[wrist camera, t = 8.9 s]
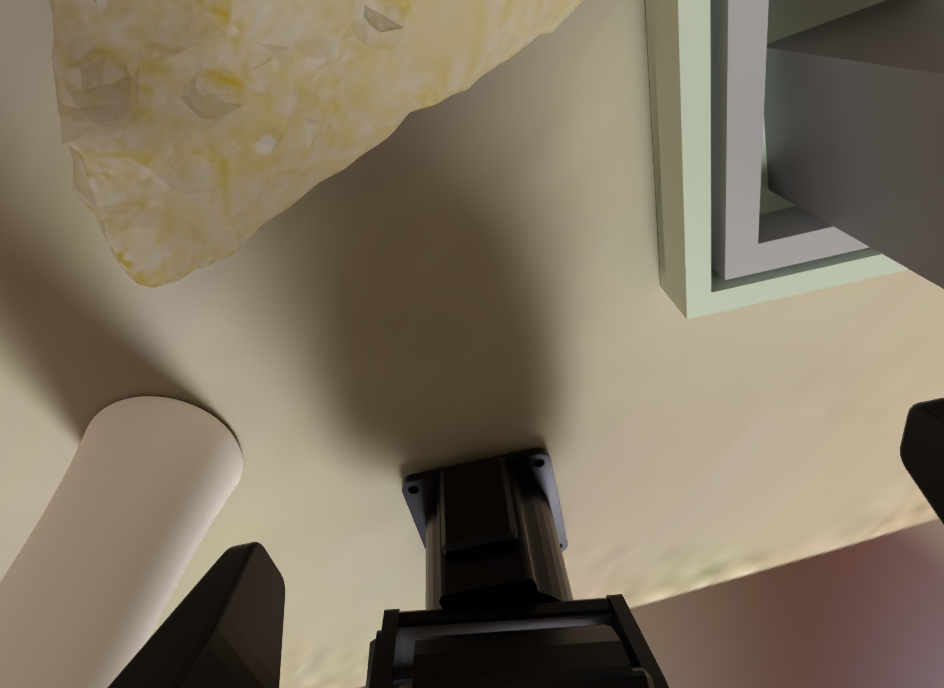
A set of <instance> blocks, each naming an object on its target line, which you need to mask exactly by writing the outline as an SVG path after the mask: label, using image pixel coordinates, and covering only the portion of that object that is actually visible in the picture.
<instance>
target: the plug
mask: <svg viewBox="0 0 944 688" xmlns="http://www.w3.org/2000/svg"><path fill="white" fill-rule="evenodd" d="M764 125H765V141H766V157H767V174H768V190H770V191H772V192H774V193H775V194H777V195H779V196H781V197H782V198H784V199H786V200H788V201H789V202H791V203H793V204H795V205H797V206H798V207H800V208H802V209H804V210H805V211H807V212H809V213H811V214H812V215H814V216H816V217H818V218H820V219H821V220H823V221H825V222H827V223H828V224H830V225H832V226H834V227H835V228H837V229H839V230H841V231H842V232H844V233H846V234H848V235H850V236H851V237H853V238H855V239H857V240H858V241H860V242H862V243H864V244H865V245H867V246H869V247H871V248H873V249H874V250H876V251H878V252H880V253H881V254H883V255H885V256H887V257H888V258H890V259H892V260H894V261H896V262H897V263H899V264H901V265H903V266H904V267H906V268H908V269H910V270H911V271H913V272H915V273H917V274H918V275H920V276H922V277H924V278H926V279H927V280H929V281H931V282H933V283H934V284H936V285H938V286H940V287H941V288H943V289H944V0H886V1H883V2H881V3H878V4H875V5H873V6H870V7H867V8H864V9H862V10H859V11H856V12H853V13H851V14H848V15H845V16H842V17H840V18H837V19H834V20H832V21H829V22H826V23H823V24H821V25H818V26H815V27H812V28H810V29H807V30H804V31H801V32H799V33H796V34H793V35H790V36H788V37H785V38H782V39H780V40H777V41H774V42H771V43H769V44H767V51H766V74H765V97H764Z"/></svg>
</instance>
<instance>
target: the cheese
mask: <svg viewBox="0 0 944 688" xmlns="http://www.w3.org/2000/svg"><path fill="white" fill-rule="evenodd" d="M50 1H51V7H52V12H53V25H54V44H53V56H52V57H53V67H54V76H55V85H56V93H57V102H58V111H59V114H60V117H61V131H62V143H63V144H66V145H68V146H69V147H70V151H71V154H72V158H73V167H74V182H73V190H74V191H75V192H76V193H77V194H78V196H79V197H80V198H81V199H82V200H83V201H84V203H85V204H86V205H87V206H88V207H89V209H90V210H91V211H92V212H93V213H94V214H95V216H96V217H97V218H98V219H99V223H100V226H101V229H102V231H103V233H104V235H105V237H106V239H107V241H108V243H109V245H110V247H111V250H112V252H113V254H114V256H115V258H116V259H117V261H118V262H119V264H120V265H121V266H122V268H123V269H124V270H125V272H126V273H127V274H128V275H129V276H130V277H132V278H133V279H134V280H135V281H136V282H137V283H138V284H141V285H143V286H149V287H158V286H161V285H165V284H168V283H171V282H175V281H178V280H180V279H182V278H183V277H184V276H186V275H187V274H189V273H190V272H192V271H193V270H195V269H198V268H201V267H204V266H206V265H209V264H211V263H213V262H216V261H218V260H220V259H223V258H225V257H227V256H230V255H231V254H233V253H234V252H235V251H236V250H237V249H238V248H239V247H241V246H242V245H243V244H244V243H245V242H246V241H247V240H248V239H249V238H251V237H252V236H253V235H254V234H255V232H256V231H257V230H258V229H259V228H260V227H261V226H262V225H263V224H264V223H265V222H267V221H269V220H271V219H272V218H274V217H275V216H277V215H279V214H280V213H282V212H283V211H285V210H287V209H288V208H289V207H290V206H292V205H293V204H294V203H295V202H297V201H298V200H299V199H300V198H302V197H303V196H304V195H305V194H306V193H307V192H309V191H310V190H311V189H312V188H313V187H314V186H315V185H316V184H318V183H320V182H321V181H323V180H325V179H326V178H328V177H330V176H332V175H334V174H336V173H338V172H340V171H342V170H344V169H345V168H346V167H348V166H349V165H350V164H351V163H353V162H354V161H355V160H356V159H358V158H359V157H360V156H361V155H363V154H364V153H366V152H367V151H369V150H371V149H372V148H374V147H375V146H377V145H378V144H380V143H382V142H383V141H384V140H385V139H386V138H387V137H389V136H390V135H391V134H392V133H393V132H394V131H395V130H396V129H397V127H398V126H399V125H400V124H401V122H402V121H403V120H404V119H405V117H406V116H407V115H408V114H409V113H410V112H413V111H415V110H418V109H421V108H425V107H430V106H434V105H436V104H438V103H440V102H441V101H443V100H444V99H446V98H447V97H449V96H452V95H454V94H457V93H460V92H462V91H465V90H467V89H469V88H470V87H471V86H472V85H473V84H474V83H475V82H476V81H477V80H478V79H479V78H480V77H482V76H483V75H485V74H486V73H487V72H489V71H490V70H492V69H493V68H495V67H496V66H498V65H500V64H501V63H503V62H504V61H506V60H508V59H509V58H511V57H513V56H514V55H515V54H516V53H518V52H519V51H520V50H521V49H522V48H524V47H525V46H526V45H527V44H529V43H530V42H531V41H532V40H533V39H535V38H536V37H537V36H538V35H540V34H546V33H552V32H553V31H554V30H555V29H556V28H557V27H558V26H559V25H560V24H561V23H562V22H563V21H564V20H565V19H566V18H567V17H568V16H569V15H570V13H571V12H572V11H573V10H574V9H575V8H576V7H577V6H578V5H579V4H580V3H581V2H582V1H583V0H50Z"/></svg>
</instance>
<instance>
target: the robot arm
mask: <svg viewBox="0 0 944 688" xmlns="http://www.w3.org/2000/svg"><path fill="white" fill-rule="evenodd" d="M900 456H901V459H902V462H903V464H904V466H905V468H906V470H907V471H908V473H909V474H910V476H911V477H912V479H913V480H914V481H915V483H916V484H917V486H918V487H919V489H920V490H921V492H922V493H923V495H924V496H925V498H926V499H927V501H928V502H929V504H930V505H931V507H932V508H933V510H934V511H935V513H936V514H937V516H938V517H939V519H940V520H941V522H942V523H943V524H944V398H939V399H934V400H930V401H925V402H920V403H916V404H914V405H913V406H912V407H911V408H910V409H909V412H908V415H907V419H906V424H905V428H904V432H903V437H902V441H901V445H900ZM536 459H541V460H539V461H534V460H536ZM410 486H417V487H410ZM402 492H403V495H404V497H405V500H406V502H407V505H408V507H409V510H410V512H411V515H412V517H413V520H414V522H415V524H416V527H417V529H418V532H419V534H420V537H421V539H422V542H423V544H424V547H425V549H426V610H416V611H401V612H400V609H391V610H384V616H383V624H382V630H380V631H377V635H376V639H374V640H373V641H372V642H370V649H369V660H368V671H367V681H366V687H365V688H669V687H668V684H667V682H666V680H665V678H664V676H663V674H662V672H661V670H660V668H659V666H658V664H657V662H656V660H655V658H654V656H653V654H652V652H651V650H650V648H649V646H648V644H647V642H646V641H645V639H644V637H643V635H642V633H641V631H640V629H639V627H638V625H637V623H636V621H635V619H634V617H633V615H632V613H631V611H630V609H629V607H628V605H627V603H626V601H625V599H624V597H623V595H622V594H617V595H607V596H606V598H596V599H581V600H573V597H572V593H571V588H570V584H569V580H568V576H567V572H566V568H565V564H564V559H563V555H562V552H563V551H564V550H566V548H567V545H568V544H567V539H566V534H565V529H564V524H563V520H562V515H561V510H560V505H559V500H558V495H557V490H556V485H555V481H554V476H553V471H552V466H551V461H550V457H549V454H548V452H547V451H546V450H545V449H543V448H534V449H529V450H524V451H520V452H515V453H511V454H506V455H501V456H497V457H492V458H487V459H483V460H478V461H473V462H469V463H464V464H459V465H455V466H450V467H445V468H441V469H436V470H431V471H427V472H422V473H417V474H413V475H409V476H407V477H405V478H404V479H403V482H402ZM284 603H285V585H284V580H283V577H282V575H281V573H280V572H279V570H278V569H277V567H276V566H275V564H274V562H273V561H272V559H271V558H270V556H269V554H268V553H267V551H266V550H265V548H264V547H263V546H262V545H261V544H260V543H258V542H251V543H247V544H242V545H237V546H233V547H231V548H229V549H227V550H226V551H225V552H224V553H223V554H222V556H221V557H220V558H219V559H218V560H217V561H216V563H215V564H214V565H213V566H212V567H211V568H210V569H209V571H208V572H207V573H206V574H205V575H204V576H203V578H202V579H201V580H200V581H199V582H198V583H197V584H196V586H195V587H194V588H193V589H192V590H191V591H190V593H189V594H188V595H187V596H186V597H185V598H184V599H183V601H182V602H181V603H180V604H179V605H178V606H177V608H176V609H175V610H174V611H173V612H172V613H171V614H170V616H169V617H168V618H167V619H166V620H165V621H164V623H163V624H162V625H161V626H160V627H159V628H158V630H157V631H156V632H155V633H154V634H153V635H152V636H151V638H150V639H149V640H148V641H147V642H146V643H145V645H144V646H143V647H142V648H141V649H140V650H139V651H138V653H137V654H136V655H135V656H134V657H133V658H132V660H131V661H130V662H129V663H128V664H127V665H126V666H125V668H124V669H123V670H122V671H121V672H120V673H119V675H118V676H117V677H116V678H115V679H114V680H113V681H112V683H111V684H110V685H109V686H108V687H107V688H279V680H280V665H281V649H282V634H283V619H284Z"/></svg>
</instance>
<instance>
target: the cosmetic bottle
mask: <svg viewBox="0 0 944 688" xmlns="http://www.w3.org/2000/svg"><path fill="white" fill-rule="evenodd" d="M242 469H243V458H242V453H241V450H240V447H239V445H238V443H237V441H236V439H235V437H234V436H233V435H232V433H231V432H230V431H229V430H228V428H227V427H226V426H225V425H224V424H223V423H221V422H220V421H219V420H218V419H217V418H215V417H214V416H212V415H211V414H210V413H208V412H206V411H204V410H203V409H201V408H199V407H196V406H194V405H192V404H189V403H186V402H184V401H180V400H176V399H172V398H166V397H157V396H141V397H133V398H128V399H124V400H121V401H118V402H115V403H113V404H111V405H109V406H107V407H106V408H104V409H103V410H101V411H100V412H99V413H98V414H97V415H96V416H95V417H94V418H93V419H92V420H91V422H90V423H89V425H88V427H87V429H86V431H85V433H84V436H83V438H82V440H81V443H80V445H79V447H78V449H77V451H76V453H75V456H74V458H73V460H72V462H71V464H70V466H69V468H68V470H67V472H66V473H65V475H64V477H63V479H62V481H61V483H60V485H59V487H58V488H57V490H56V492H55V494H54V495H53V497H52V499H51V501H50V502H49V504H48V506H47V508H46V509H45V511H44V513H43V515H42V516H41V518H40V520H39V521H38V523H37V525H36V526H35V528H34V530H33V531H32V533H31V534H30V536H29V538H28V539H27V541H26V543H25V544H24V546H23V548H22V549H21V551H20V552H19V554H18V556H17V557H16V559H15V560H14V562H13V563H12V565H11V567H10V568H9V570H8V571H7V573H6V575H5V576H4V578H3V579H2V581H1V582H0V688H107V687H108V686H109V685H110V684H111V683H112V681H113V680H114V679H115V678H116V677H117V676H118V675H119V673H120V672H121V671H122V670H123V669H124V668H125V666H126V665H127V664H128V663H129V662H130V661H131V660H132V658H133V657H134V656H135V655H136V654H137V653H138V651H139V650H140V649H141V648H142V647H143V646H144V645H145V643H146V642H147V641H148V640H149V638H150V635H151V633H152V631H153V629H154V628H155V626H156V624H157V622H158V620H159V618H160V616H161V614H162V612H163V610H164V608H165V606H166V604H167V602H168V600H169V598H170V596H171V594H172V592H173V591H174V589H175V587H176V585H177V583H178V581H179V579H180V578H181V576H182V574H183V572H184V570H185V568H186V566H187V565H188V563H189V561H190V559H191V558H192V556H193V554H194V552H195V550H196V549H197V547H198V545H199V543H200V542H201V540H202V538H203V537H204V535H205V533H206V532H207V530H208V528H209V527H210V525H211V523H212V522H213V520H214V518H215V517H216V515H217V514H218V512H219V511H220V509H221V508H222V506H223V505H224V503H225V501H226V500H227V499H228V497H229V496H230V494H231V493H232V491H233V490H234V488H235V487H236V486H237V484H238V482H239V480H240V478H241V474H242Z"/></svg>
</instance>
